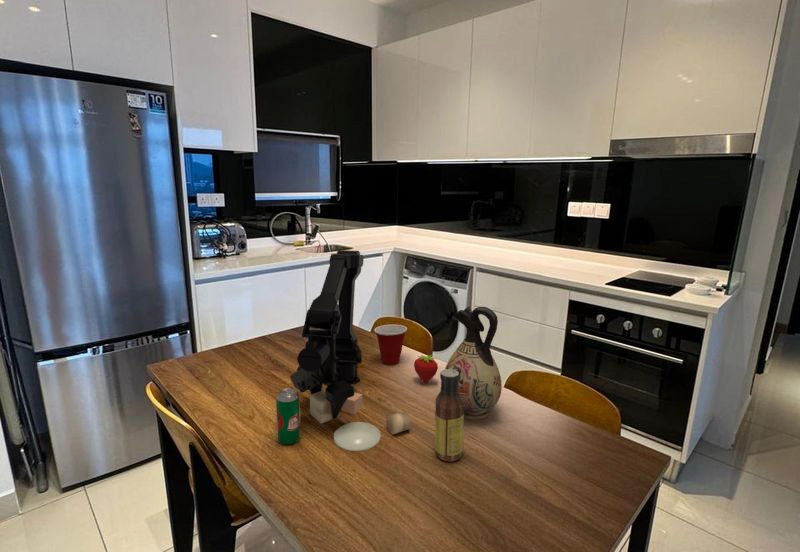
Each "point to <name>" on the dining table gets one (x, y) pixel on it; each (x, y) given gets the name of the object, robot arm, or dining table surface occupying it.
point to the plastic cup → (390, 342)
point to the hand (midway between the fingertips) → (325, 410)
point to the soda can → (288, 416)
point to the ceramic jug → (476, 364)
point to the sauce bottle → (449, 418)
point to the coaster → (357, 436)
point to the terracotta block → (353, 404)
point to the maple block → (320, 407)
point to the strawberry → (425, 367)
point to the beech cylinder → (398, 422)
